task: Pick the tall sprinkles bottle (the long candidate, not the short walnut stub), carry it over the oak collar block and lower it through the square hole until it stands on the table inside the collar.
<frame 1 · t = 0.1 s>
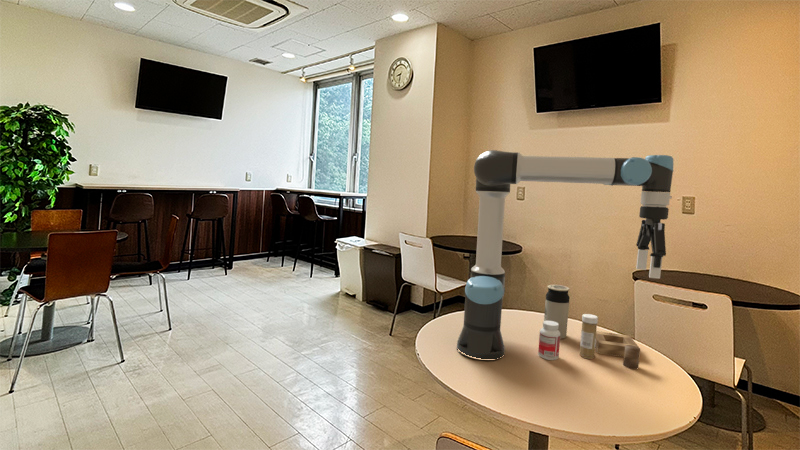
hand: (647, 273, 126), 28 cm above the table, fingers open, 13 cm apart
sprinkles bottle: (586, 356, 129), on the table
walnut stub: (630, 366, 123), on the table
oak collar: (613, 349, 136), on the table
pill bottle: (548, 357, 128), on the table
travel mug: (554, 335, 147), on the table
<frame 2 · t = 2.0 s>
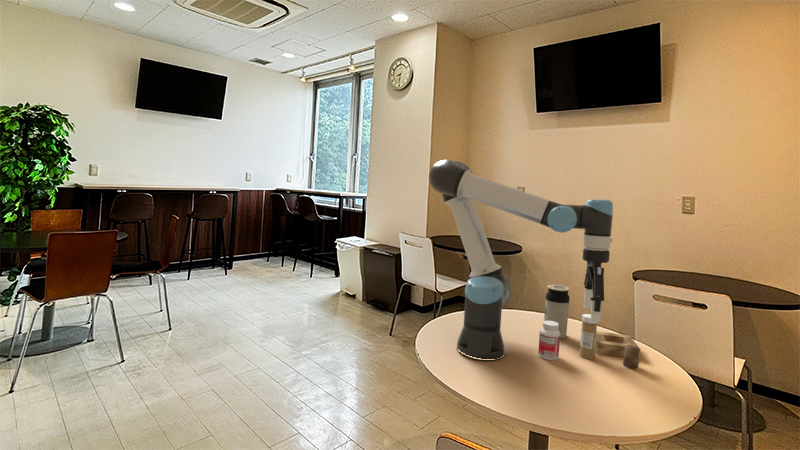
hand: (591, 314, 128), 14 cm above the table, fingers open, 13 cm apart
nothing on the table moved.
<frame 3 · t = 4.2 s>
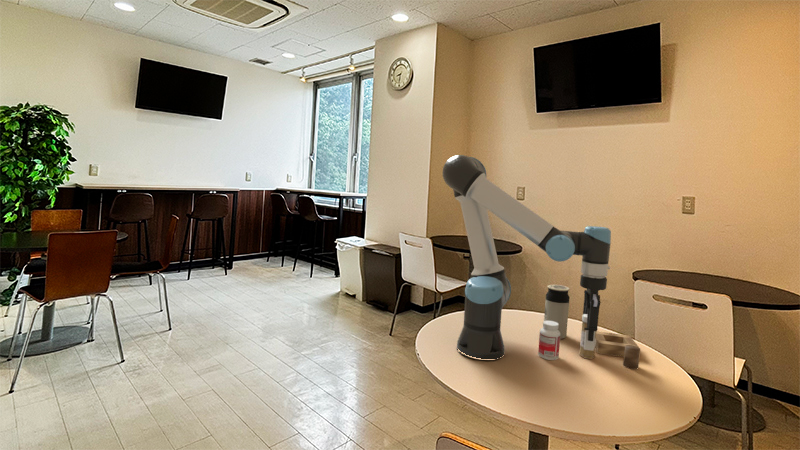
hand: (587, 346, 129), 3 cm above the table, fingers closed on sprinkles bottle, 4 cm apart
sprinkles bottle: (586, 356, 129), on the table, touching gripper
everything else where it was.
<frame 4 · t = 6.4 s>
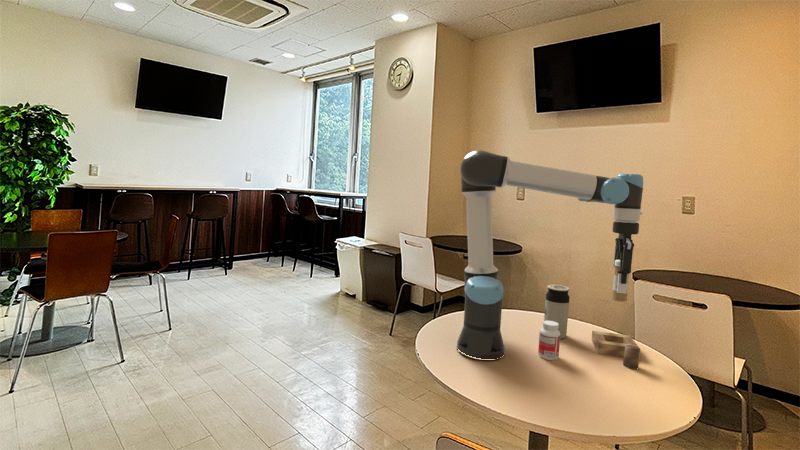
hand: (619, 290, 134), 20 cm above the table, fingers closed on sprinkles bottle, 4 cm apart
sprinkles bottle: (619, 300, 134), point 17 cm above the table, touching gripper
everything else where it was.
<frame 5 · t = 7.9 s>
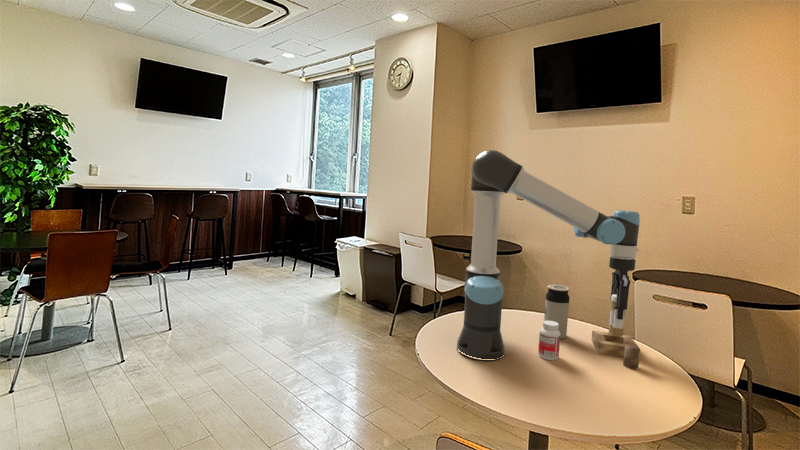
hand: (616, 325, 135), 8 cm above the table, fingers closed on sprinkles bottle, 4 cm apart
sprinkles bottle: (615, 335, 135), point 5 cm above the table, touching gripper
everything else where it was.
when the fingers open (5 cm above the table, at t = 9.1 s): sprinkles bottle drops 2 cm, resting in oak collar.
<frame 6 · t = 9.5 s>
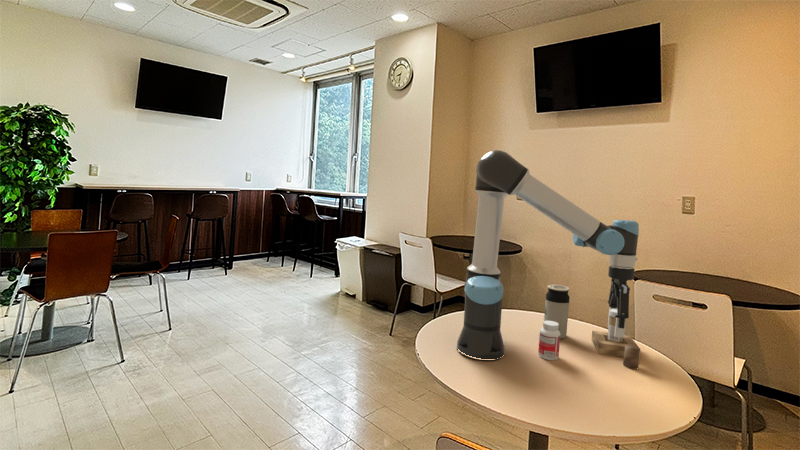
hand: (615, 331, 135), 6 cm above the table, fingers open, 10 cm apart
sprinkles bottle: (613, 349, 136), resting in oak collar
everything else where it was.
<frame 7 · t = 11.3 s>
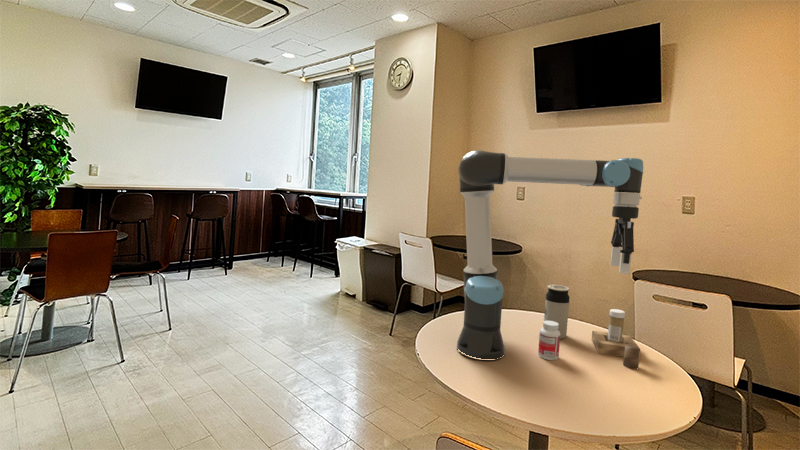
hand: (619, 269, 134), 27 cm above the table, fingers open, 13 cm apart
nothing on the table moved.
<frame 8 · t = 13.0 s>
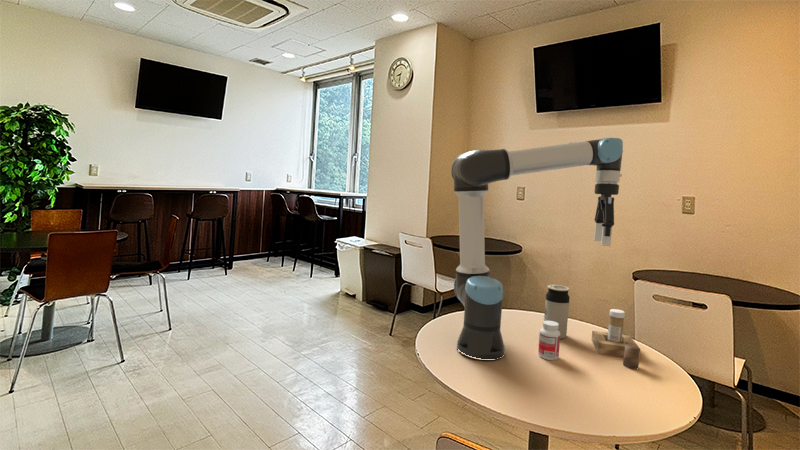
hand: (601, 243, 142), 35 cm above the table, fingers open, 13 cm apart
nothing on the table moved.
at the end: sprinkles bottle 0.0 cm off-centre on the oak collar, point 0.0 cm above the oak collar's base; sprinkles bottle tilted 0°; the gripper is holding nothing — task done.
